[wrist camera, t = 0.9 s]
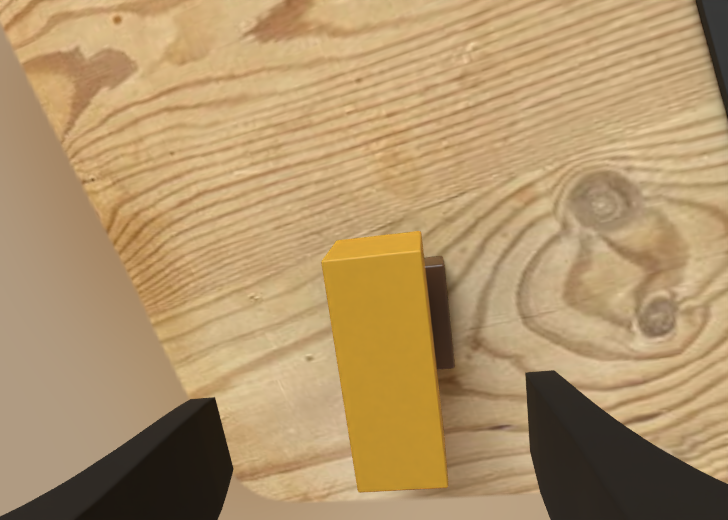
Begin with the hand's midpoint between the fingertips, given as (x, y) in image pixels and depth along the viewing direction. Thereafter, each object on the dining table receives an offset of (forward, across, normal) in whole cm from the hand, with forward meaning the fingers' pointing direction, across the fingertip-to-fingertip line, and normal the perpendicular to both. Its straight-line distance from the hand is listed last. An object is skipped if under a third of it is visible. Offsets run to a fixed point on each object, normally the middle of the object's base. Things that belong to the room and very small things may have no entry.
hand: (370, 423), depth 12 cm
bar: (+7, 0, +2) cm, 7 cm away
